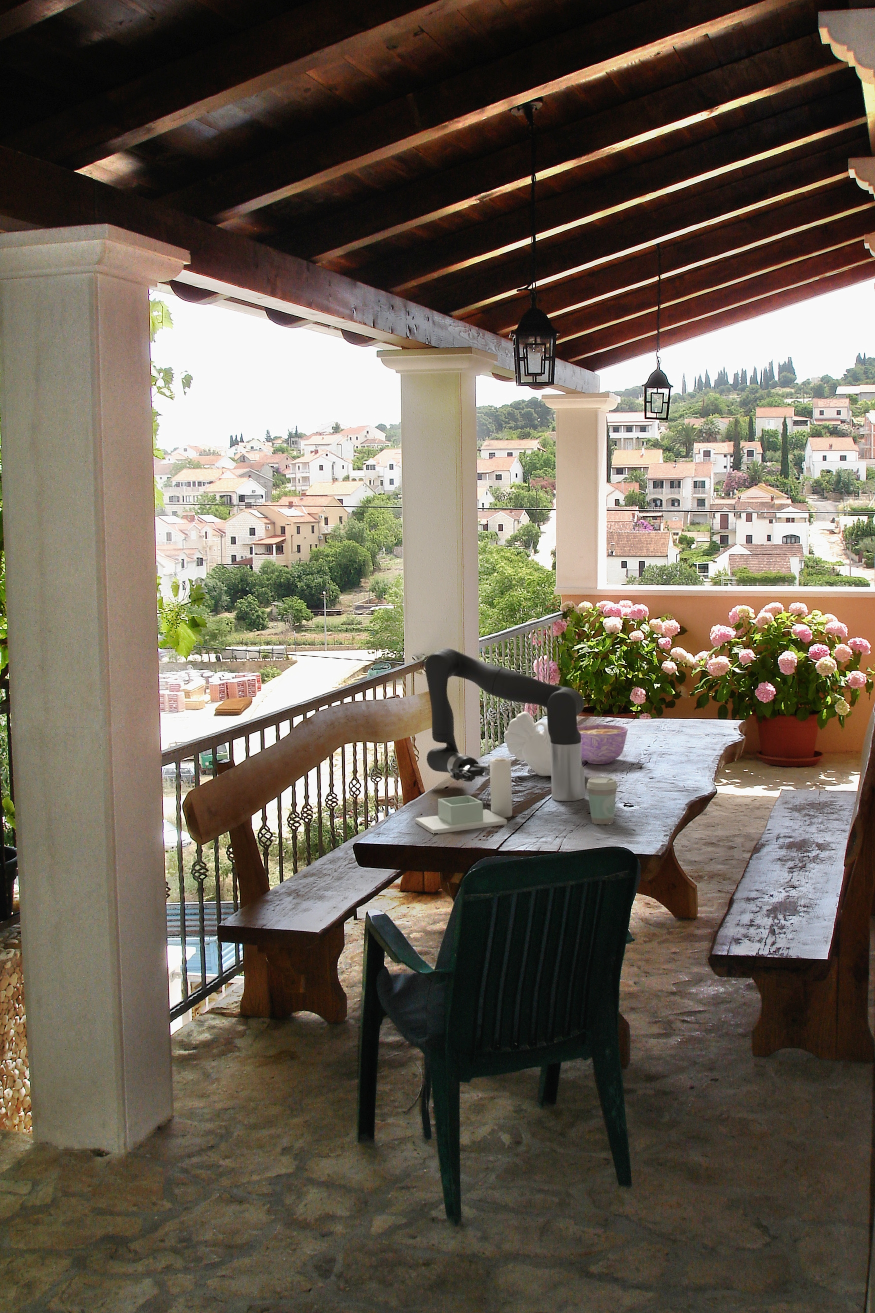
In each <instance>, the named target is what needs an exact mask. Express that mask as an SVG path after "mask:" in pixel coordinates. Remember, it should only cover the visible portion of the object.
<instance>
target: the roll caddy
mask: <svg viewBox="0 0 875 1313" xmlns="http://www.w3.org/2000/svg"><path fill="white" fill-rule="evenodd" d="M437 814H438V815H431V816H430V815H429V816H423V817H417V818H415V819H414V820H415V821H414V822H415V824H416V825H419V826H420V827H421V828H423V829H424V830H426V831H428V832H429V833H431V834H432V833H433V835H435V834H434V833H438V834H444V833H452V832H459V831H465V830H474V829H482V828H490V827H496V826H502V825H508V820H507V819H506V818H502V817H500V816H498V815H496V814H495V813H493V812H491V810H489V809H486V808H485V809H484V802H483V801H481V800H480V799H477V798H475V797H473V796H471V795H460V796H451V797H443V798H438V799H437Z"/></svg>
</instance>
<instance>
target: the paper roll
mask: <svg viewBox="0 0 875 1313" xmlns="http://www.w3.org/2000/svg"><path fill="white" fill-rule="evenodd" d="M489 764H490V776H489V779H490V780H489V781H490V782H489V783H490V785H489V786H490V787H489V788H490V790H489V791H490V811H491V812H493V813H495V814H496V815H498V816H500V817H502V818H504V819H506V818H510V817H512V816H513V798H512V797H513V796H512V795H513V794H512V761H511V759H510V758H505V757H497V758H491V759H489Z"/></svg>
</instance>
